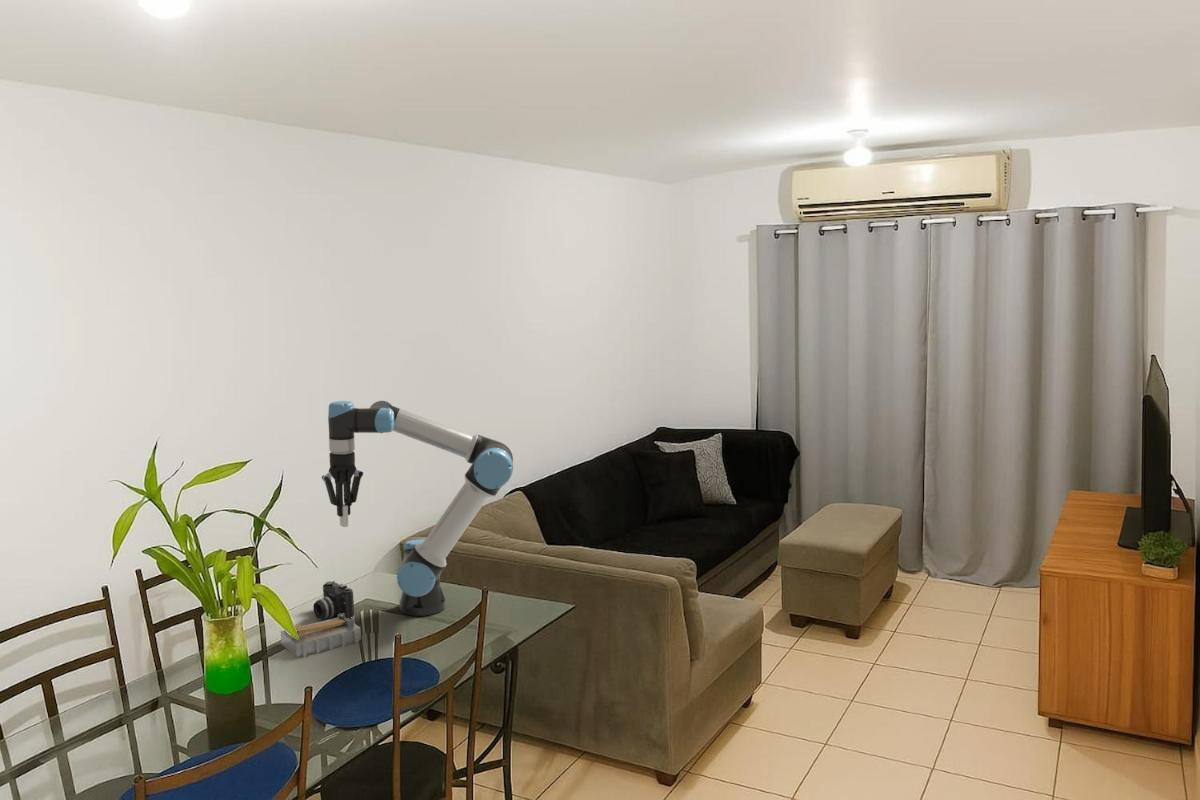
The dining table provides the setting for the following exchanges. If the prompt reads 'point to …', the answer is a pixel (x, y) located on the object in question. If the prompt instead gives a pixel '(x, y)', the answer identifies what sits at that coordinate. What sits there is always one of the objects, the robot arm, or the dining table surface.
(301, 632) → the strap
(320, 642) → the heatsink
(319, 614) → the camera
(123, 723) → the dining table surface
